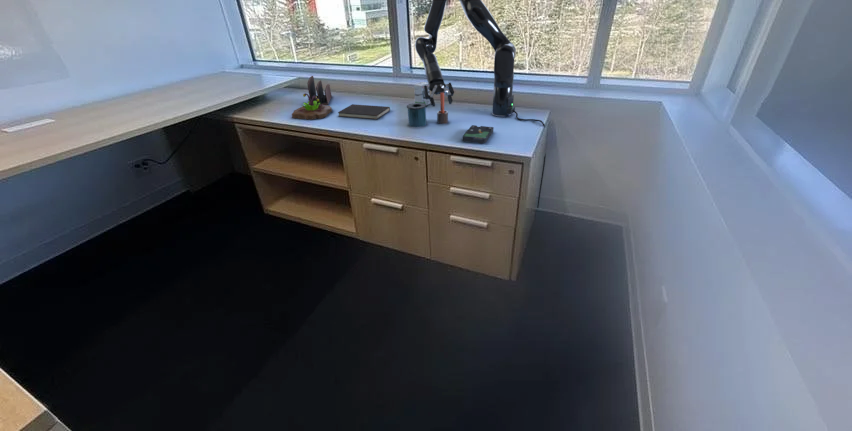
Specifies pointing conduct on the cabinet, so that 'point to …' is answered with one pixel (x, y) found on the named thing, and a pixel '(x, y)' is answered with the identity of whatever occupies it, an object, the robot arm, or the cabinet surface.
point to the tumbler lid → (416, 107)
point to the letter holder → (319, 92)
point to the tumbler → (417, 117)
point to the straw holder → (442, 117)
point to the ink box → (421, 93)
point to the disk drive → (477, 134)
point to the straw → (442, 102)
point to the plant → (311, 110)
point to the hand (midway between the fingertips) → (442, 104)
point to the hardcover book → (364, 111)
